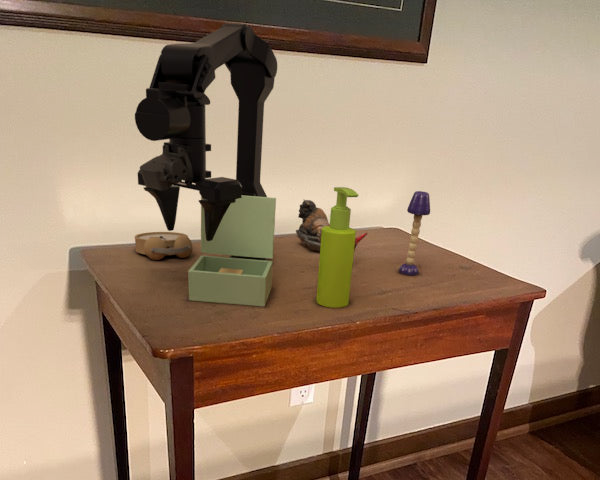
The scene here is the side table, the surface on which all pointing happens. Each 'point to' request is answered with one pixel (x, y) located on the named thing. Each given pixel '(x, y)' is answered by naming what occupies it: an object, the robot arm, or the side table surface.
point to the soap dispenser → (336, 254)
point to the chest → (230, 281)
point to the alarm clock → (163, 244)
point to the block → (231, 271)
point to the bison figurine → (311, 224)
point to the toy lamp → (415, 229)
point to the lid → (243, 229)
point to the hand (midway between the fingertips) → (189, 235)
